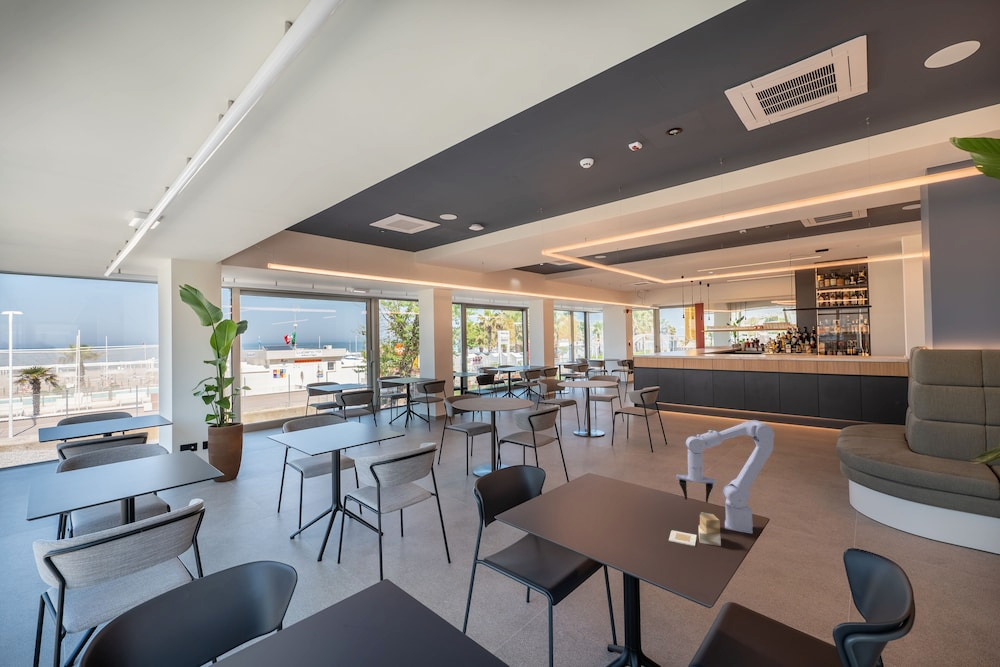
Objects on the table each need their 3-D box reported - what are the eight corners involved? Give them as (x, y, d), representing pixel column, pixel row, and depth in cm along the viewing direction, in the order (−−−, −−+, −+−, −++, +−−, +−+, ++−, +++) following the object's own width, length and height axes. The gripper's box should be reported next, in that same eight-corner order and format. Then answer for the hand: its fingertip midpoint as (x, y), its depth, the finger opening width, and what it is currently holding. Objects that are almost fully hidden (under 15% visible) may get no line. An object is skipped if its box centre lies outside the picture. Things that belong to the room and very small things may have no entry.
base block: (719, 538, 156) (718, 527, 156) (720, 547, 150) (720, 536, 150) (698, 535, 159) (698, 524, 159) (699, 543, 153) (699, 532, 153)
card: (696, 536, 158) (696, 534, 158) (695, 546, 150) (695, 545, 150) (671, 531, 162) (671, 529, 162) (668, 541, 154) (668, 539, 154)
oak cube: (713, 527, 157) (712, 514, 157) (720, 533, 152) (719, 520, 152) (700, 527, 157) (699, 514, 157) (706, 533, 152) (706, 520, 152)
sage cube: (714, 526, 166) (714, 514, 166) (714, 532, 161) (714, 519, 161) (701, 524, 168) (700, 512, 168) (700, 529, 164) (700, 516, 164)
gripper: (715, 466, 168) (716, 499, 168) (677, 462, 175) (677, 494, 175) (715, 471, 162) (716, 505, 162) (675, 466, 169) (676, 499, 169)
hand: (696, 500), depth 168 cm, fingers open, 7 cm apart
